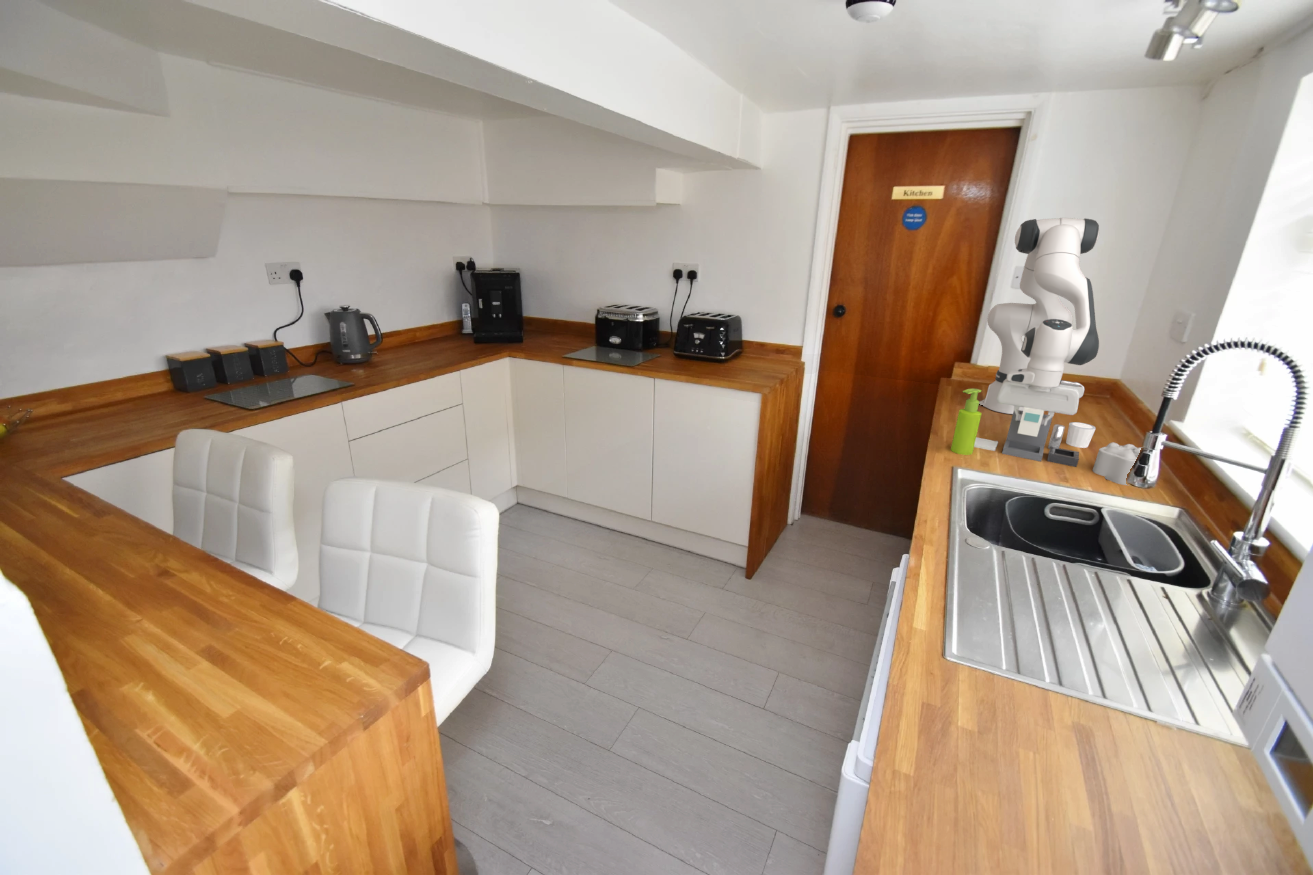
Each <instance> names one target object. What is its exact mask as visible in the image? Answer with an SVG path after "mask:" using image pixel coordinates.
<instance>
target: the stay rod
mask: <svg viewBox="0 0 1313 875" xmlns="http://www.w3.org/2000/svg"><path fill="white" fill-rule="evenodd" d="M1065 429H1066V426H1065V425H1062V424H1057V423H1056V424H1054V425H1053V428H1052V432H1051V435H1050V439H1049V441H1048V446H1047V449H1049V450H1050V447H1056V448H1060V446H1061V442H1062V438H1063V435H1064V433H1065Z"/></svg>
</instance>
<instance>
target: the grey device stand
mask: <svg viewBox="0 0 1313 875" xmlns="http://www.w3.org/2000/svg"><path fill="white" fill-rule="evenodd" d="M1018 411H1019V414H1023V411H1021V410H1018ZM1047 416H1048V414H1045V413H1044V414H1043V417H1042V418H1046V417H1047ZM1015 419H1016V414H1015V411H1014V412H1013V414H1012V416H1011V420H1010V424H1009V428H1008V432H1007V436H1006V440H1005V441H1004V445H1003V449H1002V452H1001V454H1002V455H1008V456H1013V457H1017V458H1021V459H1026V460H1031V461H1036V462H1042V460H1043V456H1044V452H1045V451H1044V450H1045V445H1046V442H1047V438H1048V435H1049V431H1050V429H1051V428H1050V427H1051V423H1052V421H1053V417H1052V418H1050V419H1049V420H1048V421H1047V424H1046V426H1044V425H1040V428H1039V432H1038V435H1037V437H1035V436H1030V435H1024V434H1019V433H1018V429H1019V425H1020V421H1016V420H1015Z"/></svg>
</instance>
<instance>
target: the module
mask: <svg viewBox="0 0 1313 875" xmlns="http://www.w3.org/2000/svg"><path fill="white" fill-rule="evenodd" d="M1043 414H1045V411H1044V410H1040V409H1033V408H1027V407H1024V410H1023V414H1022V418H1021V421H1020V425H1019V429H1018V433H1019V434H1024V435H1030V436H1035V437H1037V435H1038V432H1039V428H1040V424H1041V421H1042V417H1043Z"/></svg>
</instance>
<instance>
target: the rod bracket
mask: <svg viewBox="0 0 1313 875" xmlns="http://www.w3.org/2000/svg"><path fill="white" fill-rule="evenodd" d="M1079 460H1080V452H1079V451H1075V450H1070V449H1065V448H1061V447H1059V448H1056V447H1050V449H1049V451H1048V454H1047V462H1050V463H1054V464H1059V465H1065V466H1069V467H1074V468H1077V466H1078V463H1079Z"/></svg>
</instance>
